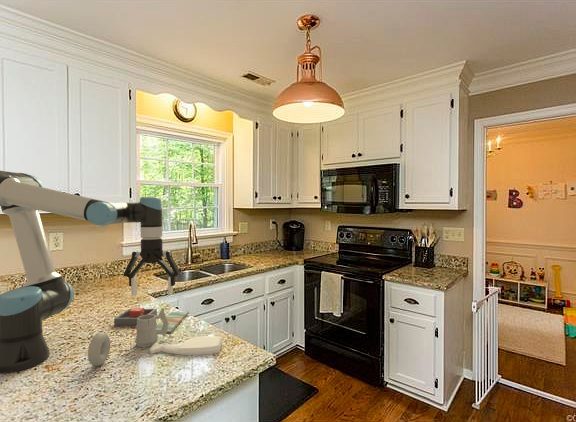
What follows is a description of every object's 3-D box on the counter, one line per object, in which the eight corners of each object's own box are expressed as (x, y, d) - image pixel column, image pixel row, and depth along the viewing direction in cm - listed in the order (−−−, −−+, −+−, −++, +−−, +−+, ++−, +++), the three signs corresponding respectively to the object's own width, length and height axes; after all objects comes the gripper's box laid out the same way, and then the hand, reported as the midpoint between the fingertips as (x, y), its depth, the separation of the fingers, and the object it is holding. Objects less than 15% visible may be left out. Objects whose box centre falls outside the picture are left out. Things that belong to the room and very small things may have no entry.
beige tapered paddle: (218, 355, 110) (145, 359, 108) (222, 342, 121) (156, 345, 119) (218, 347, 110) (145, 351, 108) (222, 334, 121) (156, 337, 119)
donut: (102, 357, 108) (101, 328, 108) (112, 357, 109) (112, 327, 108) (85, 372, 98) (85, 340, 98) (97, 372, 99) (96, 340, 98)
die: (139, 321, 141) (139, 310, 140) (129, 321, 141) (129, 310, 141) (145, 317, 145) (144, 307, 145) (134, 317, 145) (134, 307, 145)
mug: (132, 342, 120) (132, 310, 120) (165, 334, 127) (164, 304, 127) (138, 349, 114) (138, 316, 114) (171, 341, 121) (171, 309, 121)
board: (171, 333, 129) (171, 331, 129) (150, 333, 129) (150, 331, 129) (188, 313, 153) (188, 311, 153) (171, 313, 153) (171, 311, 153)
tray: (144, 325, 137) (144, 318, 137) (114, 325, 137) (114, 318, 137) (156, 315, 150) (156, 308, 150) (129, 315, 150) (128, 308, 150)
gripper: (188, 236, 124) (188, 291, 124) (123, 237, 124) (124, 292, 124) (181, 238, 116) (182, 297, 117) (112, 239, 116) (113, 297, 116)
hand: (152, 294), depth 120 cm, fingers open, 13 cm apart
